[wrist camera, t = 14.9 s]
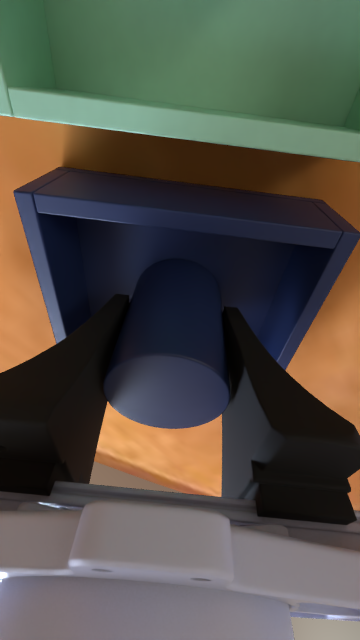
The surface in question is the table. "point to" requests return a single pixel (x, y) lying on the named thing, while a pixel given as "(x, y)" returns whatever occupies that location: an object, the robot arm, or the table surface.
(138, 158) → the table surface
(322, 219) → the navy tub
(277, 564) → the robot arm
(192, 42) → the mint tub
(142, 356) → the navy peg
